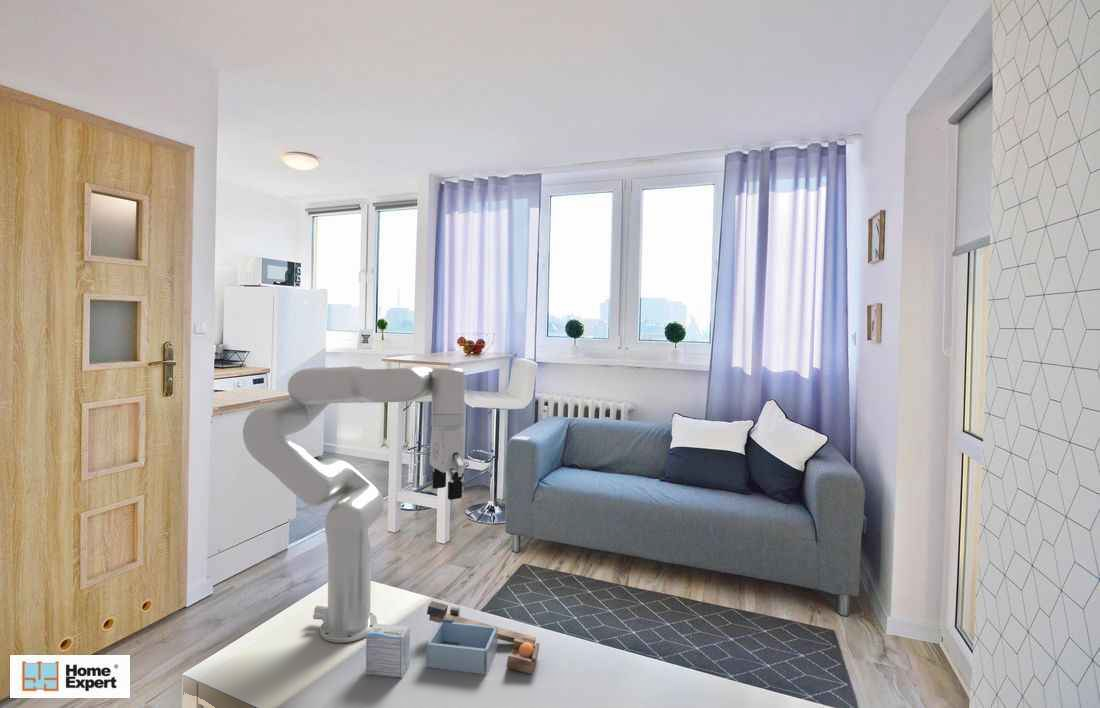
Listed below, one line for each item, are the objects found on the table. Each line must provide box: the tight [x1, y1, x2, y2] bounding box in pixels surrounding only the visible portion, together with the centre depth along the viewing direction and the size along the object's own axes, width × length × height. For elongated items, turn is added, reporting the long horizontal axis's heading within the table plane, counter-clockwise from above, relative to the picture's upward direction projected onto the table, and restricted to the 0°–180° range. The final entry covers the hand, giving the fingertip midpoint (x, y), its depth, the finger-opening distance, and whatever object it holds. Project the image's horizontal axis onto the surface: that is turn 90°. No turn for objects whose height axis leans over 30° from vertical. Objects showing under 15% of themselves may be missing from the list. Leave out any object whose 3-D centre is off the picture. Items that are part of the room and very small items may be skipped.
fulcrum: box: [442, 606, 461, 645], centre depth 122 cm, size 6×7×6 cm
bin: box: [425, 621, 499, 675], centre depth 115 cm, size 13×9×5 cm
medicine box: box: [365, 623, 411, 679], centre depth 110 cm, size 8×4×9 cm, turn 84°
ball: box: [519, 642, 534, 659], centre depth 113 cm, size 3×3×3 cm
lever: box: [426, 600, 540, 675], centre depth 117 cm, size 27×11×3 cm, turn 82°
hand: (446, 493), depth 123 cm, fingers open, 9 cm apart
